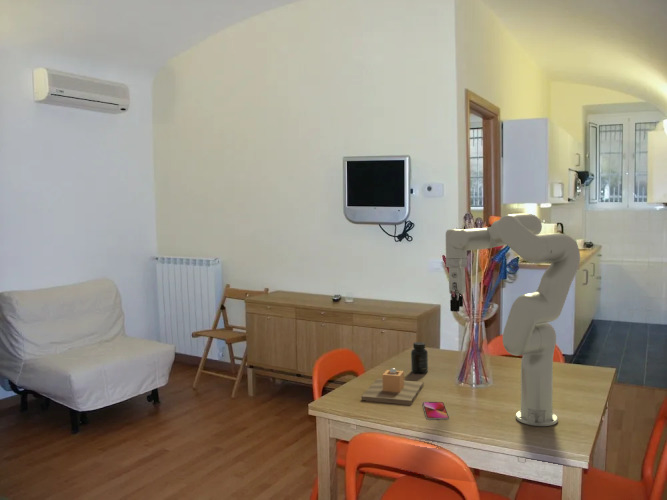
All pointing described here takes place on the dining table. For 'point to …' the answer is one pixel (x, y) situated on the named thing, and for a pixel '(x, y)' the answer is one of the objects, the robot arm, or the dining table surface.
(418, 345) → the supplement bottle
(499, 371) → the dining table surface
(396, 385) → the hollow wooden cube
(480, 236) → the robot arm
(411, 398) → the board
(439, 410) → the smartphone
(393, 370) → the post
